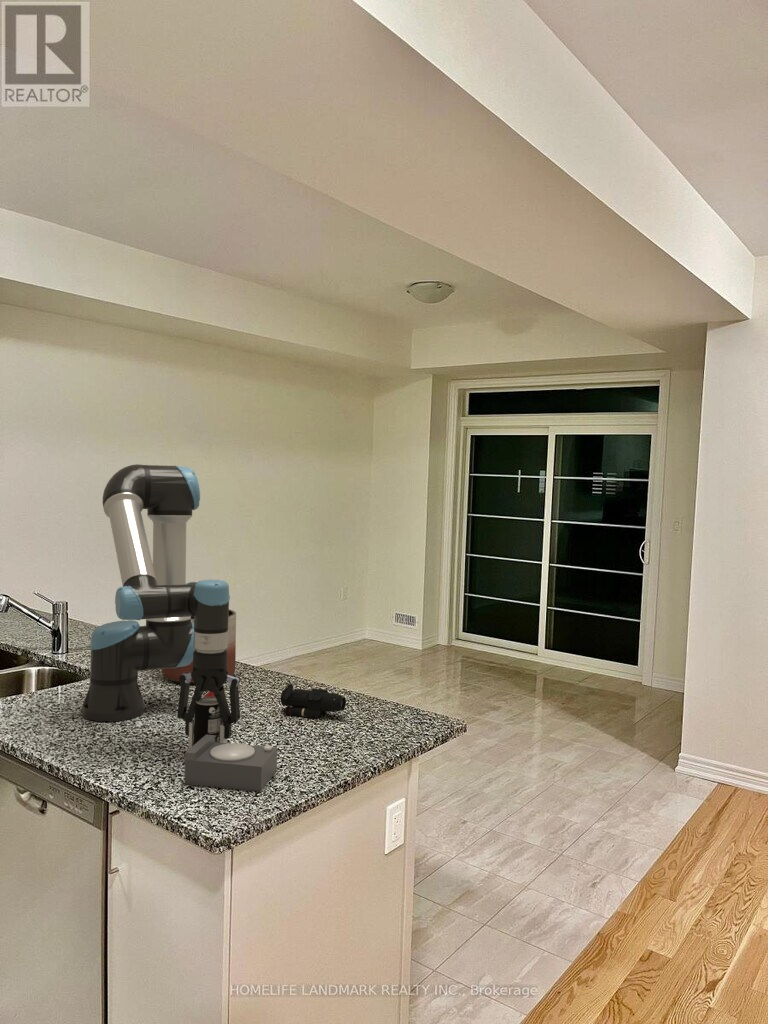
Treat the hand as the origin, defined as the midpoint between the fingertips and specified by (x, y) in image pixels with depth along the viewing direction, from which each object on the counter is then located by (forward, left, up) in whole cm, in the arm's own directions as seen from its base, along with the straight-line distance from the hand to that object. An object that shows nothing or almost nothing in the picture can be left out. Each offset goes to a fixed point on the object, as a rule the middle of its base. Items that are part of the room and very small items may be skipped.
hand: (207, 750), depth 170 cm
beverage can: (0, 0, -1) cm, 1 cm away
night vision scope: (+16, +33, -1) cm, 37 cm away
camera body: (+10, -12, 0) cm, 16 cm away
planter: (-27, +61, -1) cm, 67 cm away
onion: (-8, +23, -1) cm, 24 cm away
